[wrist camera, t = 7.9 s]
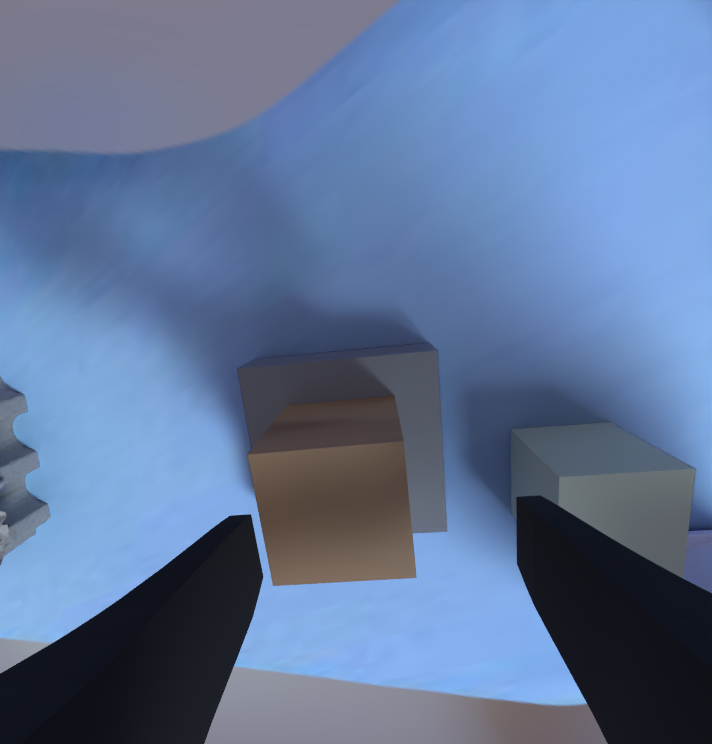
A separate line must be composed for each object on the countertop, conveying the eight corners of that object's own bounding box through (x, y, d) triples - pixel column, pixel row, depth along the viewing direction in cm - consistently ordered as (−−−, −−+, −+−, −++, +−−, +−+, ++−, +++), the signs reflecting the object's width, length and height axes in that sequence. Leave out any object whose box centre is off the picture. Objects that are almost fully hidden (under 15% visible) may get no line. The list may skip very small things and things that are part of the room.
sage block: (603, 507, 19) (682, 580, 14) (510, 511, 19) (556, 585, 15) (608, 421, 18) (695, 468, 13) (510, 428, 18) (559, 477, 13)
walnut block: (404, 494, 17) (416, 577, 12) (302, 502, 17) (273, 585, 12) (394, 395, 16) (403, 441, 11) (286, 405, 16) (247, 454, 11)
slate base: (436, 496, 20) (447, 531, 17) (283, 505, 21) (268, 540, 18) (427, 341, 18) (437, 350, 15) (258, 357, 19) (237, 368, 16)
